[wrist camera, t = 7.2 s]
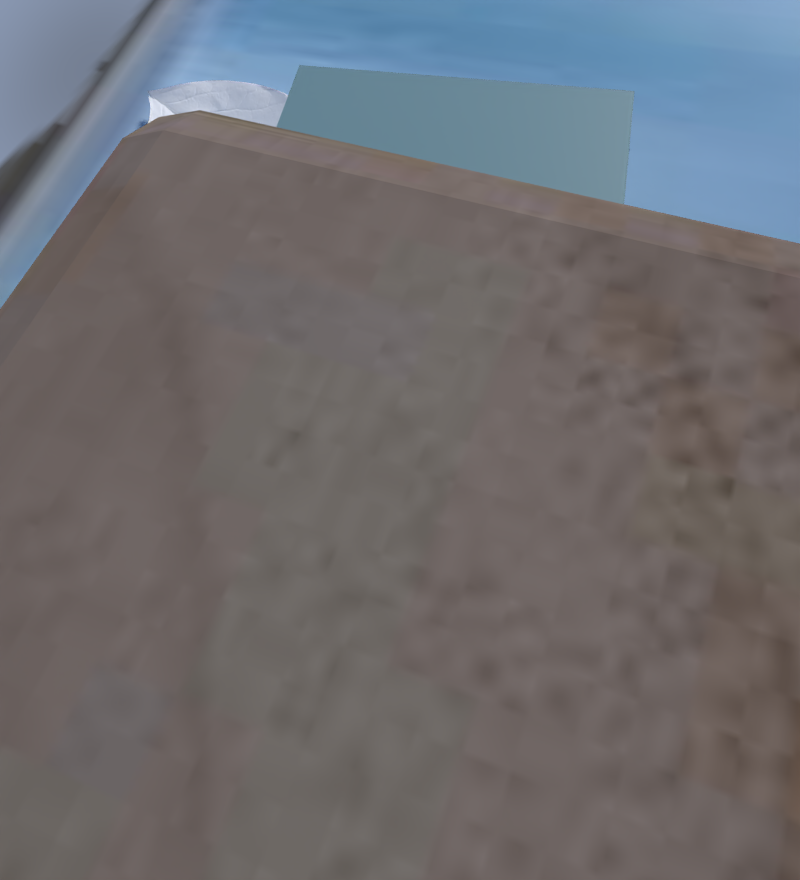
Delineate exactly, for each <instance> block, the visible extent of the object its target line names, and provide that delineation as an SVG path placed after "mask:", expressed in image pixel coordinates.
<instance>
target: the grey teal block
mask: <svg viewBox="0 0 800 880" xmlns="http://www.w3.org/2000/svg"><path fill="white" fill-rule="evenodd" d="M633 100H634V91H625V90H612V89H599V88H586V87H573V86H561V85H548V84H535V83H522V82H509V81H496V80H483V79H470V78H457V77H444V76H432V75H419V74H406V73H393V72H380V71H367V70H354V69H341V68H328V67H316V66H303V65H300V66H299V68H298V71H297V74H296V76H295V79H294V82H293V84H292V87H291V90H290V92H289V95H288V97H287V100H286V103H285V105H284V108H283V111H282V113H281V116H280V119H279V121H278V124H277V127H278V128H283V129H287V130H292V131H296V132H301V133H305V134H310V135H314V136H319V137H323V138H328V139H332V140H336V141H341V142H345V143H350V144H354V145H359V146H363V147H368V148H372V149H377V150H381V151H386V152H390V153H395V154H399V155H404V156H408V157H413V158H417V159H422V160H426V161H431V162H435V163H440V164H444V165H449V166H453V167H458V168H462V169H467V170H471V171H476V172H480V173H485V174H489V175H494V176H498V177H503V178H507V179H512V180H516V181H521V182H525V183H530V184H534V185H539V186H543V187H548V188H552V189H556V190H561V191H565V192H570V193H574V194H579V195H583V196H588V197H592V198H597V199H601V200H606V201H610V202H615V203H619V204H624V199H625V188H626V177H627V166H628V155H629V144H630V133H631V122H632V111H633Z"/></svg>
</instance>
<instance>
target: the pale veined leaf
mask: <svg viewBox="0 0 800 880" xmlns="http://www.w3.org/2000/svg"><path fill="white" fill-rule="evenodd" d="M148 93H149V95H150V96H148V97H149V101H150V106H151V110H150V117H149V121H148V123H150V122H151V121H153V120H155V119H156V118H158V117H162V116H168V115H174V114H180V113H186V112H192V111H198V110H202V111H206V112H211V113H215V114H220V115H224V116H229V117H233V118H238V119H242V120H247V121H251V122H256V123H261V124H265V125H269V126H274V127H277V124H278V121H279V119H280V116H281V113H282V111H283V108H284V105H285V103H286V100H287V97H288V95H287V94H285V93H283V92H280V91H278V90H275V89H272V88H269V87H266V86H262V85H258V84H252V83H245V82H236V81H223V80H213V81H199V82H191V83H185V84H179V85H175V86H171V87H167V88H163V89H159V90H153V91H148Z"/></svg>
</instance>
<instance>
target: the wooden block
mask: <svg viewBox="0 0 800 880" xmlns="http://www.w3.org/2000/svg"><path fill="white" fill-rule="evenodd" d="M0 880H800V244H799V243H794V242H790V241H785V240H781V239H776V238H772V237H767V236H763V235H759V234H754V233H750V232H745V231H741V230H736V229H732V228H727V227H723V226H718V225H714V224H709V223H705V222H700V221H696V220H691V219H687V218H682V217H678V216H673V215H669V214H664V213H660V212H655V211H651V210H646V209H642V208H637V207H633V206H628V205H624V204H619V203H615V202H610V201H606V200H601V199H597V198H592V197H588V196H583V195H579V194H574V193H570V192H565V191H561V190H556V189H552V188H548V187H543V186H539V185H534V184H530V183H525V182H521V181H516V180H512V179H507V178H503V177H498V176H494V175H489V174H485V173H480V172H476V171H471V170H467V169H462V168H458V167H453V166H449V165H444V164H440V163H435V162H431V161H426V160H422V159H417V158H413V157H408V156H404V155H399V154H395V153H390V152H386V151H381V150H377V149H372V148H368V147H363V146H359V145H354V144H350V143H345V142H341V141H336V140H332V139H328V138H323V137H319V136H314V135H310V134H305V133H301V132H296V131H292V130H287V129H283V128H278V127H274V126H269V125H265V124H260V123H256V122H251V121H247V120H242V119H238V118H233V117H229V116H224V115H220V114H215V113H211V112H206V111H202V110H198V111H192V112H186V113H180V114H174V115H168V116H162V117H158V118H156V119H155V120H153V121H151V122H150V123H148V124H146V125H144V126H143V127H141V128H139V129H138V130H136V131H134V132H133V133H131V134H129V135H128V136H126V137H124V138H123V139H122V140H121V141H120V143H119V144H118V146H117V147H116V148H115V150H114V151H113V153H112V154H111V155H110V157H109V158H108V160H107V161H106V162H105V164H104V165H103V167H102V168H101V169H100V171H99V172H98V174H97V175H96V176H95V178H94V179H93V181H92V182H91V183H90V185H89V186H88V188H87V189H86V190H85V192H84V193H83V195H82V196H81V197H80V199H79V200H78V201H77V203H76V204H75V206H74V207H73V208H72V210H71V211H70V213H69V214H68V215H67V217H66V218H65V220H64V221H63V222H62V224H61V225H60V227H59V228H58V229H57V231H56V232H55V234H54V235H53V236H52V238H51V239H50V241H49V242H48V243H47V245H46V246H45V248H44V249H43V250H42V252H41V253H40V255H39V256H38V257H37V259H36V260H35V261H34V263H33V264H32V266H31V267H30V268H29V270H28V271H27V273H26V274H25V275H24V277H23V278H22V280H21V281H20V282H19V284H18V285H17V287H16V288H15V289H14V291H13V292H12V294H11V295H10V296H9V298H8V299H7V301H6V302H5V303H4V305H3V306H2V308H1V309H0Z"/></svg>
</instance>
